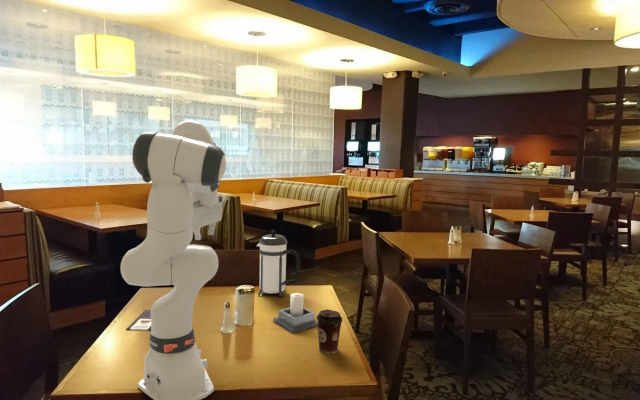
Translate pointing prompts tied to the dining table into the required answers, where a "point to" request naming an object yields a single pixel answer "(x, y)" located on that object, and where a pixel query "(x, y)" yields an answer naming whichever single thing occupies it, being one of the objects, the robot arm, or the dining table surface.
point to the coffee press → (275, 264)
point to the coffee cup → (328, 330)
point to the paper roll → (296, 304)
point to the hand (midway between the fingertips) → (204, 237)
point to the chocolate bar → (142, 322)
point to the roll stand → (296, 320)
